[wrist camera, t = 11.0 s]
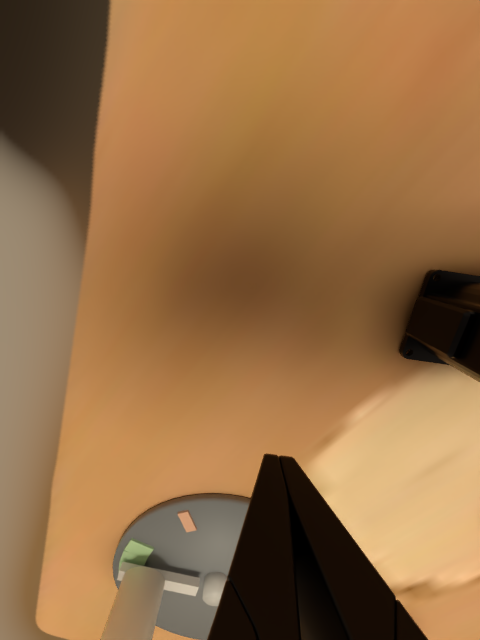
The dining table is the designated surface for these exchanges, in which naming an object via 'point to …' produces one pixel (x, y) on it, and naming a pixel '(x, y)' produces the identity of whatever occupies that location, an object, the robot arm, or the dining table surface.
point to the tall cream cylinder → (142, 600)
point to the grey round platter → (187, 554)
